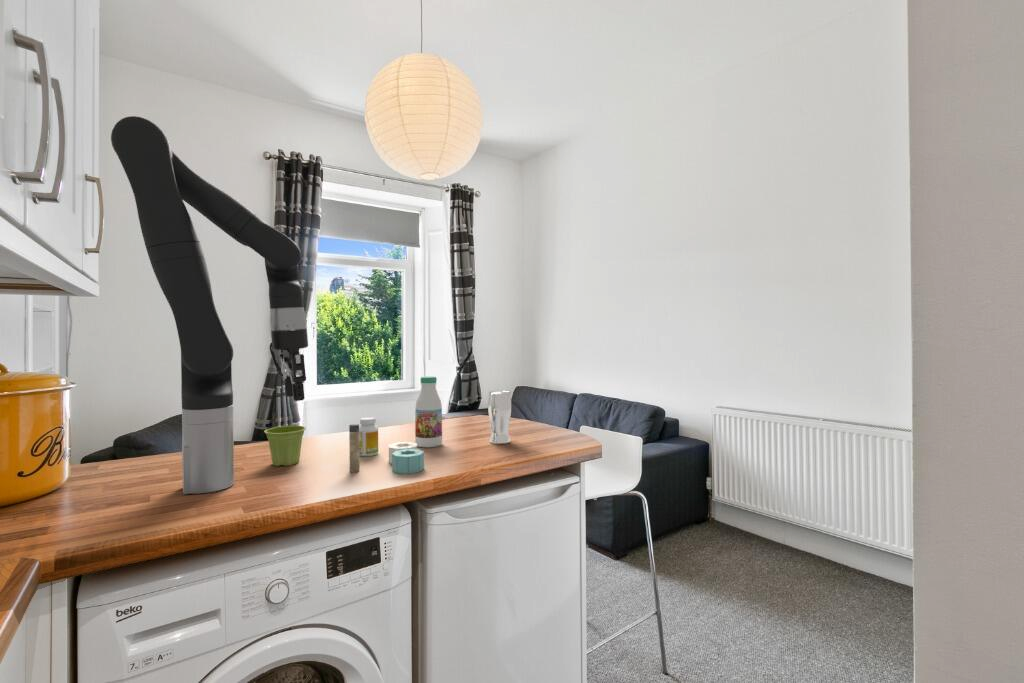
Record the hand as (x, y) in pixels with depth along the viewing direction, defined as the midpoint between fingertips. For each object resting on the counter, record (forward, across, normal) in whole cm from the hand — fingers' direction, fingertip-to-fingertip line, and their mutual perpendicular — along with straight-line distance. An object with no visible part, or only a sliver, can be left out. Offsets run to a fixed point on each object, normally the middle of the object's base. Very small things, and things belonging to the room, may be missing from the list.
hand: (295, 398), depth 111 cm
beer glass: (+22, 0, +56) cm, 60 cm away
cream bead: (+20, +3, +24) cm, 31 cm away
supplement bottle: (+19, -9, +19) cm, 28 cm away
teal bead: (+19, +11, +22) cm, 31 cm away
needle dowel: (+19, +5, +11) cm, 22 cm away
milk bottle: (+21, -9, +37) cm, 43 cm away
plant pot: (+18, -12, -1) cm, 22 cm away
